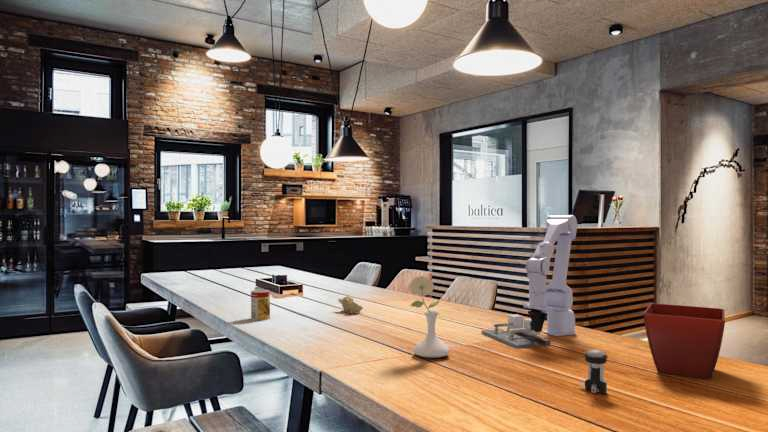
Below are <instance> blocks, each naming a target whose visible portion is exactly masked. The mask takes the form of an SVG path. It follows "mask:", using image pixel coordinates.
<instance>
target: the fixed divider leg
mask: <svg viewBox="0 0 768 432" xmlns="http://www.w3.org/2000/svg"><path fill="white" fill-rule="evenodd" d="M492 324H493V325H492V326H493V327H494V330H496V331H498V329H499V327H508V329H519V328H524V315H521V314H518V313H516V314H507V322H499V323H492Z"/></svg>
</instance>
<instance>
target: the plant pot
mask: <svg viewBox="0 0 768 432" xmlns="http://www.w3.org/2000/svg"><path fill="white" fill-rule="evenodd" d="M643 321H644V322H643V323H644V329H645V332H646V337H647V343H648V347H649V349H650V353H651V356H652V360H653V363H654V366H655V369H656V370H657V373H663V374H669V375H676V376H685V377H692V378H697V379H698V378H699V379H707V380H709V379H712V377H713V375H714V372H715V368H716V366H717V362H718V360H719V356H720V352H721V348H722V342H723V337H724V331H725V325H726V316H725V309H724V308H719V307H718V308H717V307H706V306H694V305H693V306H692V305H691V306H690V305H682V304H679V305H678V304H669V303H667V304H665V303H656V302H654V303H650V304H649V305H648V307H646V308H645V310H644V311H643Z"/></svg>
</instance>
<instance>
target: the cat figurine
mask: <svg viewBox="0 0 768 432" xmlns="http://www.w3.org/2000/svg"><path fill="white" fill-rule="evenodd" d="M337 301H338V302H339V303H340V304H341V306H342V308H343V312H345V313H347V314H349V313H352V314H359V313H360V312H361V311H362V310H363V309H364V307H363V306H362V305H359V304H358V303H356V302H355V301H354V298H353V297H352V296H350V295H349V296H348V295H347V296H344V297H343V298H338V300H337Z"/></svg>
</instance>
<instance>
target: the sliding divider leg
mask: <svg viewBox="0 0 768 432" xmlns="http://www.w3.org/2000/svg"><path fill="white" fill-rule="evenodd" d="M516 332H524V334H527V335H530V336H533V335H537V336H540V335H541V332H535V331H534V328H533V324H532V320H531V318H523V328H519V329H509V333H511V337H514V333H516Z"/></svg>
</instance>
